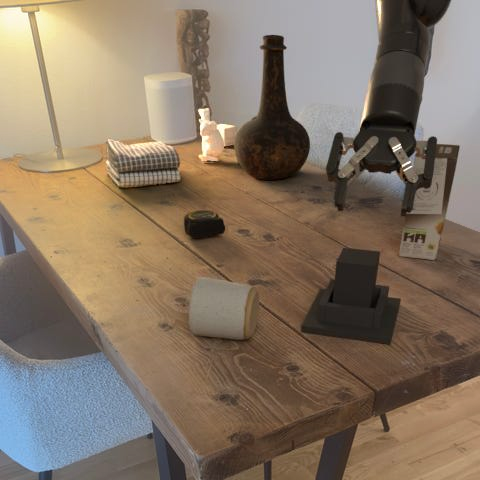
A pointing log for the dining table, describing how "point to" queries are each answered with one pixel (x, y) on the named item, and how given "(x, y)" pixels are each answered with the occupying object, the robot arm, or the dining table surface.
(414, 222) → the coffee box
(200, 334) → the off-white cylinder
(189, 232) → the tape measure
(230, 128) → the small box
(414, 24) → the robot arm
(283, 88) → the glass bottle
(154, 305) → the dining table surface
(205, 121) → the white upright figurine
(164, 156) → the towel
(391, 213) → the dining table surface
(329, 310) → the base pad
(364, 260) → the dark grey rectangular block
